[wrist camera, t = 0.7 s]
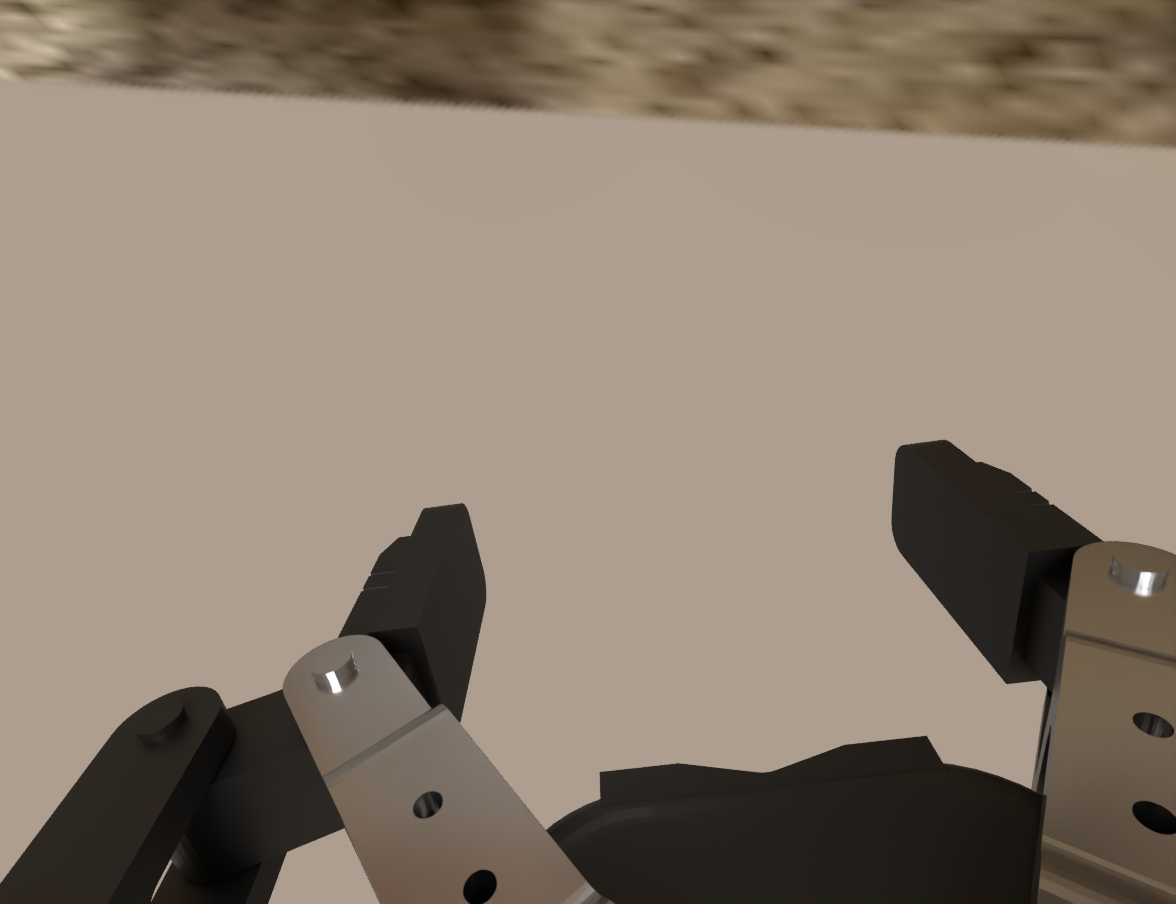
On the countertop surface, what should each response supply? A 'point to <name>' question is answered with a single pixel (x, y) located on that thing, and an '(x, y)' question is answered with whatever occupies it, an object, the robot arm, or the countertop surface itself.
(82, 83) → the countertop surface
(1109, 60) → the countertop surface
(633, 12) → the countertop surface
